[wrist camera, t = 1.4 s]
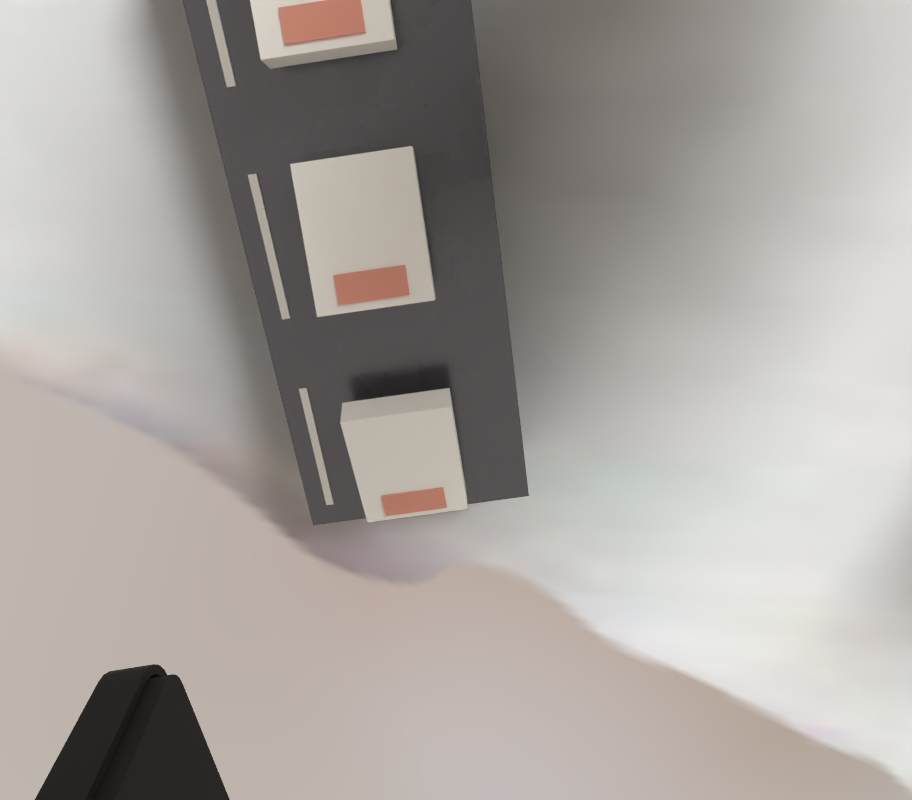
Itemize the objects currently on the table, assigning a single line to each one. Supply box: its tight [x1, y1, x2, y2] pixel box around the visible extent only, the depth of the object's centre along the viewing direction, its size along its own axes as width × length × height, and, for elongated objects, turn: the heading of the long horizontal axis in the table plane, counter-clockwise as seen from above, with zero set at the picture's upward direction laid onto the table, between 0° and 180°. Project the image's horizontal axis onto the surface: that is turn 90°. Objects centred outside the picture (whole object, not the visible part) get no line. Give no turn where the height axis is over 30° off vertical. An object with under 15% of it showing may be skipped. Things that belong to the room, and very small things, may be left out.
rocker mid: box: [290, 146, 436, 317], centre depth 26 cm, size 5×4×1 cm
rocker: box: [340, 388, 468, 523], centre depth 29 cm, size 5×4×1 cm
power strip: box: [183, 0, 529, 525], centre depth 28 cm, size 29×9×5 cm, turn 8°
